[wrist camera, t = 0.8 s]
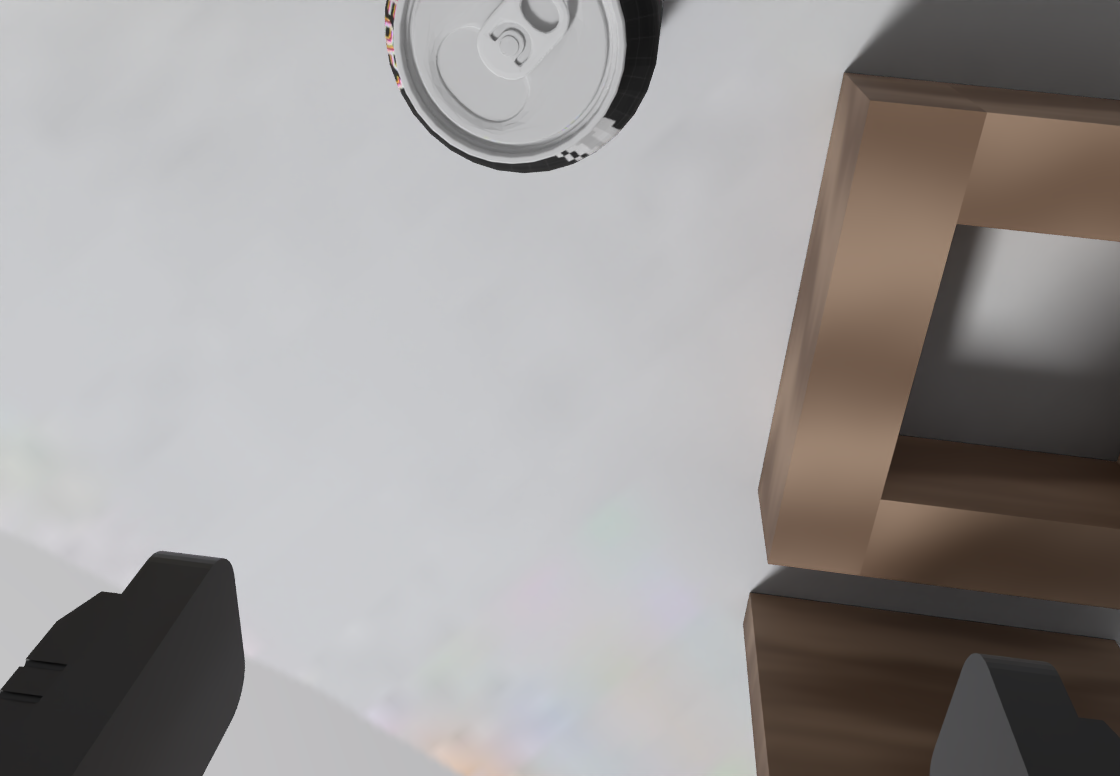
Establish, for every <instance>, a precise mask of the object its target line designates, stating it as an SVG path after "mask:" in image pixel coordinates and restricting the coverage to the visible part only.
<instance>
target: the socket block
mask: <svg viewBox="0 0 1120 776" xmlns="http://www.w3.org/2000/svg"><path fill="white" fill-rule="evenodd" d="M956 224H962V225H971V226H980V227H989V228H998V229H1008V230H1017V231H1026V232H1035V233H1044V234H1053V235H1063V236H1072V237H1081V238H1090V239H1099V240H1108V241H1118V242H1120V100H1112V99H1102V98H1092V97H1082V96H1072V95H1062V94H1053V93H1043V92H1033V91H1023V90H1013V89H1003V88H993V87H983V86H973V85H964V84H954V83H944V82H934V81H924V80H914V79H904V78H894V77H884V76H874V75H865V74H855V73H845V72H844V75H843V80H842V85H841V90H840V94H839V99H838V104H837V109H836V114H835V119H834V124H833V128H832V133H831V138H830V143H829V148H828V153H827V158H826V162H825V167H824V172H823V177H822V182H821V187H820V191H819V196H818V201H817V206H816V211H815V216H814V221H813V225H812V230H811V235H810V240H809V245H808V250H807V255H806V259H805V264H804V269H803V274H802V279H801V284H800V288H799V293H798V298H797V303H796V308H795V313H794V318H793V322H792V327H791V332H790V337H789V342H788V347H787V352H786V356H785V361H784V366H783V371H782V376H781V381H780V385H779V390H778V395H777V400H776V405H775V410H774V415H773V419H772V424H771V429H770V434H769V439H768V444H767V449H766V453H765V458H764V463H763V468H762V473H761V478H760V482H759V487H758V495H759V502H760V509H761V517H762V524H763V531H764V539H765V546H766V553H767V560H768V564H773V565H781V566H789V567H796V568H804V569H812V570H819V571H827V572H835V573H842V574H850V575H858V576H866V577H873V578H881V579H889V580H896V581H904V582H912V583H920V584H927V585H935V586H943V587H950V588H958V589H966V590H974V591H981V592H989V593H997V594H1004V595H1012V596H1020V597H1027V598H1035V599H1043V600H1051V601H1058V602H1066V603H1074V604H1081V605H1089V606H1097V607H1105V608H1112V609H1120V454H1119V457H1118V459H1117V462H1116V461H1108V460H1100V459H1092V458H1083V457H1075V456H1067V455H1059V454H1050V453H1042V452H1034V451H1026V450H1017V449H1009V448H1001V447H993V446H985V445H976V444H968V443H960V442H952V441H943V440H935V439H927V438H919V437H910V436H902V435H899V431H900V427H901V424H902V420H903V416H904V413H905V409H906V405H907V402H908V398H909V395H910V391H911V387H912V384H913V380H914V376H915V373H916V369H917V366H918V362H919V358H920V355H921V351H922V347H923V344H924V340H925V336H926V333H927V329H928V326H929V322H930V318H931V315H932V311H933V307H934V304H935V300H936V297H937V293H938V289H939V286H940V282H941V278H942V275H943V271H944V267H945V264H946V260H947V257H948V253H949V249H950V246H951V242H952V238H953V235H954V231H955V228H956Z"/></svg>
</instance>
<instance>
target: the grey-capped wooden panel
mask: <svg viewBox="0 0 1120 776" xmlns="http://www.w3.org/2000/svg"><path fill="white" fill-rule="evenodd" d="M743 628H744V639H745V650H746V661H747V672H748V682H749V693H750V704H751V715H752V726H753V737H754V748H755V759H756V770H757V776H930V766H931V760H932V755H933V751H934V748H935V745H936V742H937V739H938V737H939V734H940V731H941V728H942V725H943V722H944V719H945V716H946V714H947V711H948V708H949V705H950V702H951V699H952V696H953V693H954V691H955V688H956V685H957V682H958V679H959V676H960V673H961V670H962V668H963V665H964V663H965V661H966V659H967V658H968V657H969V656H970V655H971V654H973V653H979V654H987V655H996V656H1004V657H1012V658H1020V659H1028V660H1036V661H1044V662H1048V663H1050V664H1051V665H1052V666H1053V667H1054V668H1055V669H1056V670H1057V672H1058V674H1059V676H1060V678H1061V680H1062V682H1063V685H1064V687H1065V689H1066V691H1067V693H1068V695H1069V698H1070V700H1071V702H1072V704H1073V706H1074V708H1075V711H1076V713H1077V715H1078V717H1080V718H1088V719H1096V720H1103V721H1104V722H1105V723H1106V724H1107V725H1108V726H1109V727H1110V728H1111V729H1112V730H1113V731H1114V732H1115V733H1116V734H1117V735H1118V736H1119V737H1120V648H1119V646H1118V644H1117V643H1116V641H1115V640H1108V639H1100V638H1092V637H1085V636H1077V635H1070V634H1062V633H1054V632H1047V631H1039V630H1032V629H1024V628H1016V627H1009V626H1001V625H994V624H986V623H978V622H971V621H963V620H956V619H948V618H940V617H933V616H925V615H918V614H910V613H902V612H895V611H887V610H880V609H872V608H864V607H857V606H849V605H842V604H834V603H826V602H819V601H811V600H804V599H796V598H788V597H781V596H773V595H766V594H758V593H750V594H749V599H748V604H747V608H746V613H745V618H744V623H743Z"/></svg>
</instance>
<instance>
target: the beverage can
mask: <svg viewBox="0 0 1120 776" xmlns="http://www.w3.org/2000/svg"><path fill="white" fill-rule="evenodd" d="M663 2H664V0H387V1H386V7H385V39H386V45H387V51H388V56H389V62H390V66H391V69H392V71H393V74H394V77H395V79H396V82H397V85H398V87H399V90H400V92H401V94H402V95H403V97H404V99H405V100H406V102H407V104H408V106H409V107H410V109H411V111H412V112H413V114H414V115H415V116H416V117H417V119H418V120H419V121H420V122H421V123H422V124H423V126H424V127H425V128H426V129H427V130H428V131H429V133H430V134H431V135H433V136H434V137H435V138H436V139H438V140H439V141H440V142H441V143H443V144H444V145H445V146H446V147H448V148H449V149H450V150H451V151H453V152H455V153H457V154H459V155H461V156H463V157H464V158H466V159H468V160H470V161H472V162H474V163H477V164H480V165H483V166H486V167H489V168H493V169H496V170H501V171H510V172H519V173H530V172H542V171H550V170H554V169H557V168H561V167H564V166H568V165H571V164H574V163H576V162H578V161H580V160H582V159H583V158H585V157H587V156H589V155H591V154H593V153H595V152H597V151H598V150H599V149H600V148H602V147H603V146H604V145H605V144H607V143H608V142H609V141H610V140H611V139H613V138H614V137H615V136H616V135H617V134H618V133H619V132H620V131H621V129H622V128H623V127H624V126H625V125H626V124H627V122H628V121H629V120H630V119H631V118H632V116H633V115H634V114H635V112H636V110H637V109H638V107H639V105H640V103H641V101H642V99H643V98H644V96H645V94H646V92H647V90H648V87H649V84H650V81H651V78H652V75H653V72H654V69H655V65H656V60H657V52H658V44H659V36H660V28H661V19H662V10H663Z"/></svg>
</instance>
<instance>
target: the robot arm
mask: <svg viewBox="0 0 1120 776" xmlns="http://www.w3.org/2000/svg"><path fill="white" fill-rule="evenodd" d="M244 671H245V660H244V651H243V642H242V634H241V626H240V618H239V610H238V602H237V594H236V586H235V578H234V572H233V568H232V565H231V563H230V562H229V561H228V560H227V559H224V558H216V557H208V556H200V555H191V554H183V553H175V552H167V551H159V552H156V553H154V554H153V555H152V556H151V557H150V558H149V559H148V560H147V561H146V563H145V564H144V565H143V567H142V568H141V569H140V570H139V572H138V573H137V574H136V576H135V577H134V578H133V580H132V581H131V582H130V584H129V585H128V586H127V587H126V589H125V590H124V591H123V593H122V594H117V593H110V592H100V593H99V594H97V595H96V596H94V597H93V598H91V599H90V600H88V601H87V602H85V603H84V604H82V605H81V606H79V607H78V608H76V609H75V610H74V611H72V612H70V613H69V614H67V615H66V616H64V617H63V618H61V619H60V620H58V621H57V622H56V623H55V624H54V625H53V627H52V628H51V629H50V630H49V632H48V633H47V634H46V635H45V636H44V638H43V639H42V640H41V641H40V643H39V644H38V645H37V646H36V647H35V649H34V650H33V651H32V652H31V653H30V655H29V656H28V657H27V658H26V663H25V666H24V667H19V668H18V669H17V670H16V672H15V673H14V674H13V675H12V676H11V678H10V679H9V680H8V681H7V682H6V684H5V685H4V686H3V687H2V689H1V690H0V776H202V775H203V774H204V772H205V770H206V768H207V766H208V764H209V762H210V760H211V758H212V756H213V755H214V753H215V751H216V749H217V747H218V745H219V743H220V741H221V739H222V737H223V736H224V734H225V732H226V730H227V728H228V726H229V724H230V722H231V720H232V718H233V716H234V714H235V711H236V709H237V706H238V703H239V700H240V696H241V692H242V686H243V681H244ZM930 776H1120V737H1119V736H1118V735H1117V734H1116V733H1115V732H1114V731H1113V730H1112V729H1111V728H1110V727H1109V726H1108V725H1107V724H1106V723H1105V722H1104V721H1103V720H1096V719H1088V718H1080V717H1078V715H1077V713H1076V711H1075V708H1074V706H1073V704H1072V702H1071V700H1070V698H1069V695H1068V693H1067V691H1066V689H1065V687H1064V685H1063V682H1062V680H1061V678H1060V676H1059V674H1058V672H1057V670H1056V669H1055V668H1054V667H1053V666H1052V665H1051V664H1050V663H1048V662H1044V661H1036V660H1028V659H1020V658H1012V657H1004V656H996V655H987V654H979V653H973V654H971V655H970V656H969V657H968V658H967V659H966V661H965V663H964V665H963V668H962V670H961V673H960V676H959V679H958V682H957V685H956V688H955V691H954V693H953V696H952V699H951V702H950V705H949V708H948V711H947V714H946V716H945V719H944V722H943V725H942V728H941V731H940V734H939V737H938V739H937V742H936V745H935V748H934V751H933V755H932V760H931V766H930Z"/></svg>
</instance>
